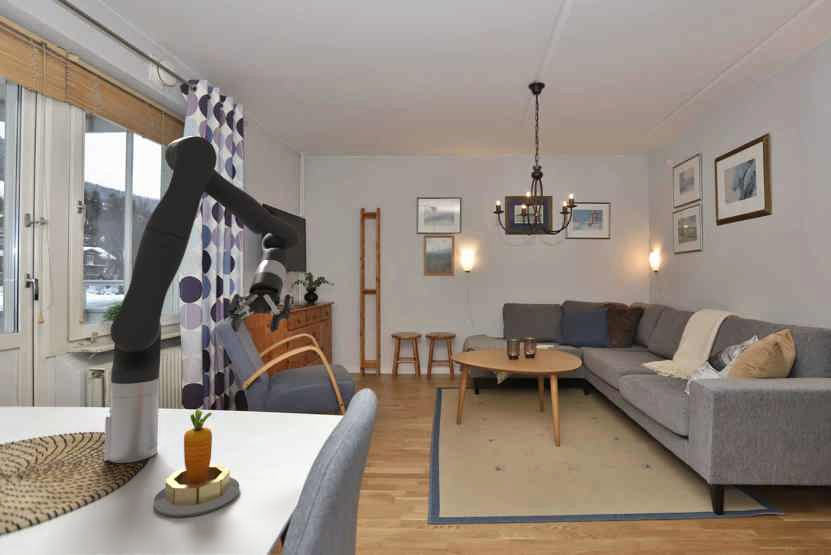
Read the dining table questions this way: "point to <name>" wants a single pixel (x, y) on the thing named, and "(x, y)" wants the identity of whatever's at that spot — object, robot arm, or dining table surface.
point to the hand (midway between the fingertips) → (253, 329)
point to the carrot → (197, 449)
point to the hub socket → (196, 493)
